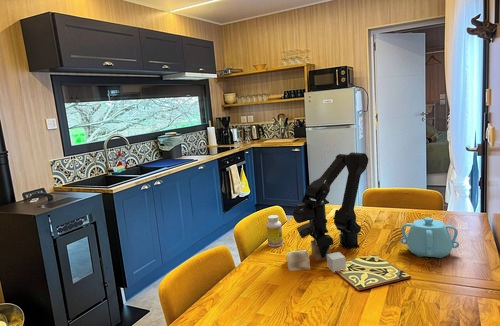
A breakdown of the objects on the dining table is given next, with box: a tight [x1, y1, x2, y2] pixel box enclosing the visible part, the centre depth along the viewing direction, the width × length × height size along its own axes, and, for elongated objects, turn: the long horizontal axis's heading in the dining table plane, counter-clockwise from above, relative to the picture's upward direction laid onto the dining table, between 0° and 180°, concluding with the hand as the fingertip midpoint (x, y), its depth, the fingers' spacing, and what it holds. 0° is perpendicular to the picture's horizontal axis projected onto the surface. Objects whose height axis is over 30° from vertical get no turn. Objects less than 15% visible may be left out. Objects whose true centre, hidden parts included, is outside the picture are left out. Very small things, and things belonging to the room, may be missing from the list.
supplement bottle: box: [265, 214, 284, 248], centre depth 162 cm, size 7×7×13 cm
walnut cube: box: [310, 239, 331, 262], centre depth 145 cm, size 6×6×6 cm
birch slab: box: [286, 250, 311, 272], centre depth 140 cm, size 8×8×4 cm
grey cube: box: [326, 251, 347, 273], centre depth 135 cm, size 5×5×5 cm
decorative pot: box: [400, 217, 460, 259], centre depth 139 cm, size 16×16×14 cm
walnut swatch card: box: [292, 249, 310, 259], centre depth 149 cm, size 7×7×1 cm
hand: (320, 254), depth 145 cm, fingers closed on walnut cube, 6 cm apart
